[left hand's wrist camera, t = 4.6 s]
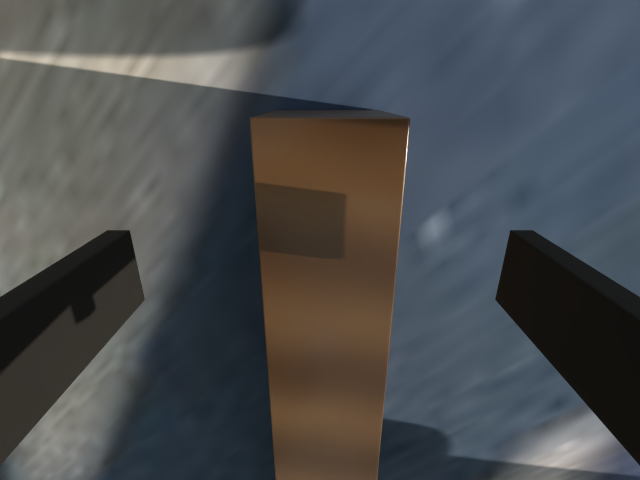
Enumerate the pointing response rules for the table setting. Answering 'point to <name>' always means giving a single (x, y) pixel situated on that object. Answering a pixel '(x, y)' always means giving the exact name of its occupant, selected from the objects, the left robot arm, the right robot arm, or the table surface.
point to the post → (328, 281)
